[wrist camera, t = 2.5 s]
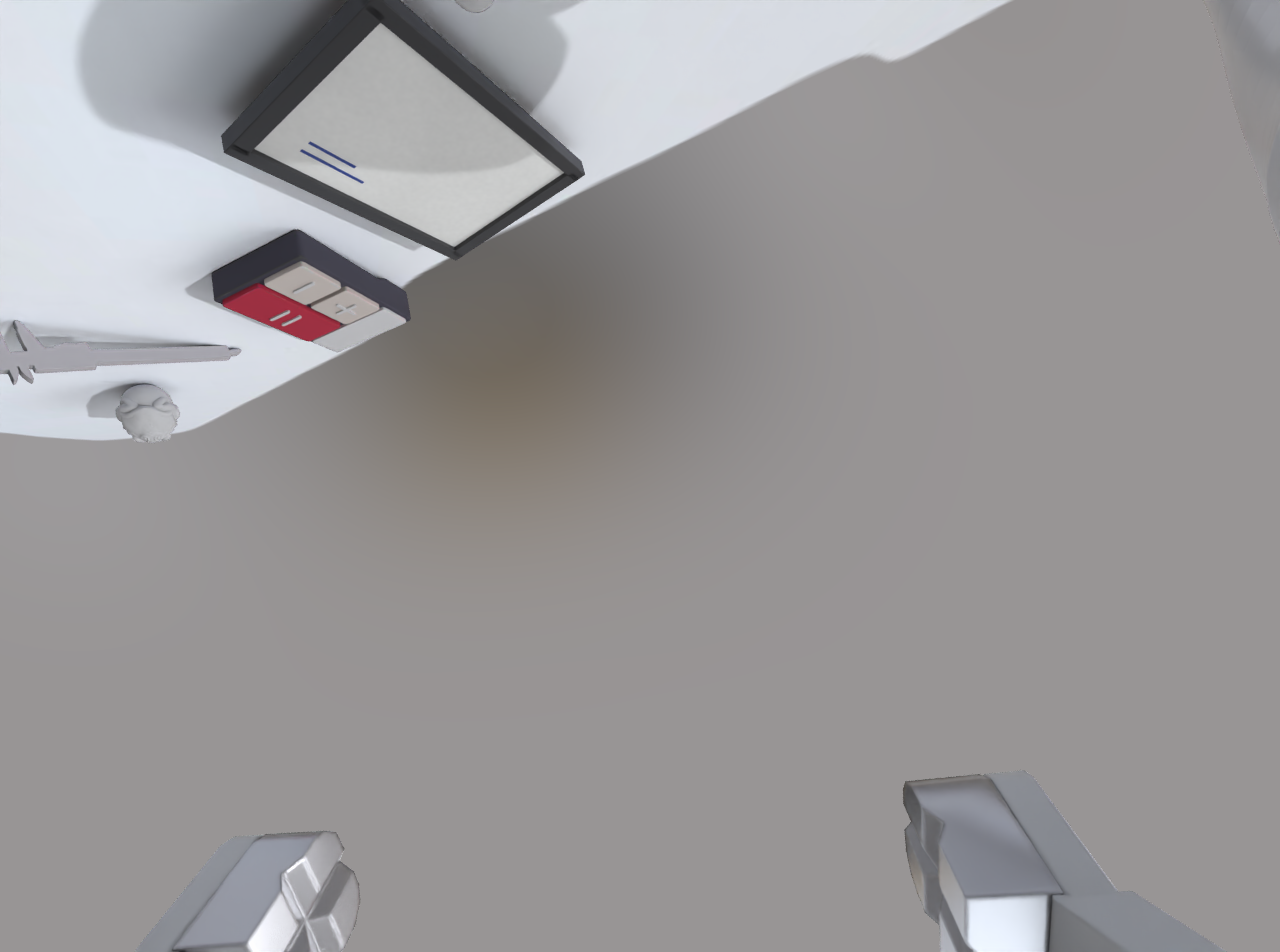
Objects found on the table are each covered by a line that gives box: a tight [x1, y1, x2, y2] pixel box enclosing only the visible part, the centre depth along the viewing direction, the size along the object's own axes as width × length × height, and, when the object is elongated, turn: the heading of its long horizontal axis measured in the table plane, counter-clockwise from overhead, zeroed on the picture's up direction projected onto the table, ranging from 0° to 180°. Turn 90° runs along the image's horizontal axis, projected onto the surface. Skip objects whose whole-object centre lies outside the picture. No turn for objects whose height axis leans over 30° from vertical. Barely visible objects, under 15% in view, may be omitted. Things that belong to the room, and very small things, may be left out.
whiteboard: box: [221, 0, 585, 260], centre depth 46 cm, size 16×21×3 cm
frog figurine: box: [116, 384, 180, 443], centre depth 72 cm, size 6×7×7 cm
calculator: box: [212, 230, 411, 352], centre depth 62 cm, size 11×4×15 cm
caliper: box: [0, 320, 241, 385], centre depth 62 cm, size 20×1×6 cm, turn 41°
